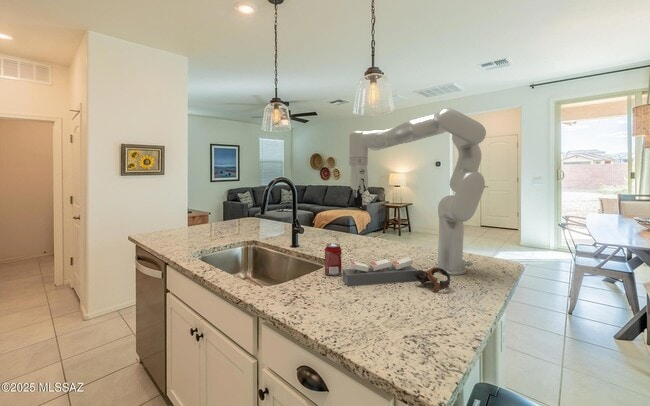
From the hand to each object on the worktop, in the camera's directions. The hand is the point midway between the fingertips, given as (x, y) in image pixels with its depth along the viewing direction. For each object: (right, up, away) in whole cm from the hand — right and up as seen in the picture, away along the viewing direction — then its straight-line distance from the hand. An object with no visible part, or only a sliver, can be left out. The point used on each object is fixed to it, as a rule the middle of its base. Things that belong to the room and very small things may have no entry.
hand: (358, 206), depth 125 cm
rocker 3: (+16, -22, -8) cm, 29 cm away
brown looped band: (+25, -29, -16) cm, 41 cm away
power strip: (+11, -28, -8) cm, 31 cm away
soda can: (-10, -28, -1) cm, 30 cm away
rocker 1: (-1, -23, -11) cm, 25 cm away
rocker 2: (+7, -22, -10) cm, 25 cm away
